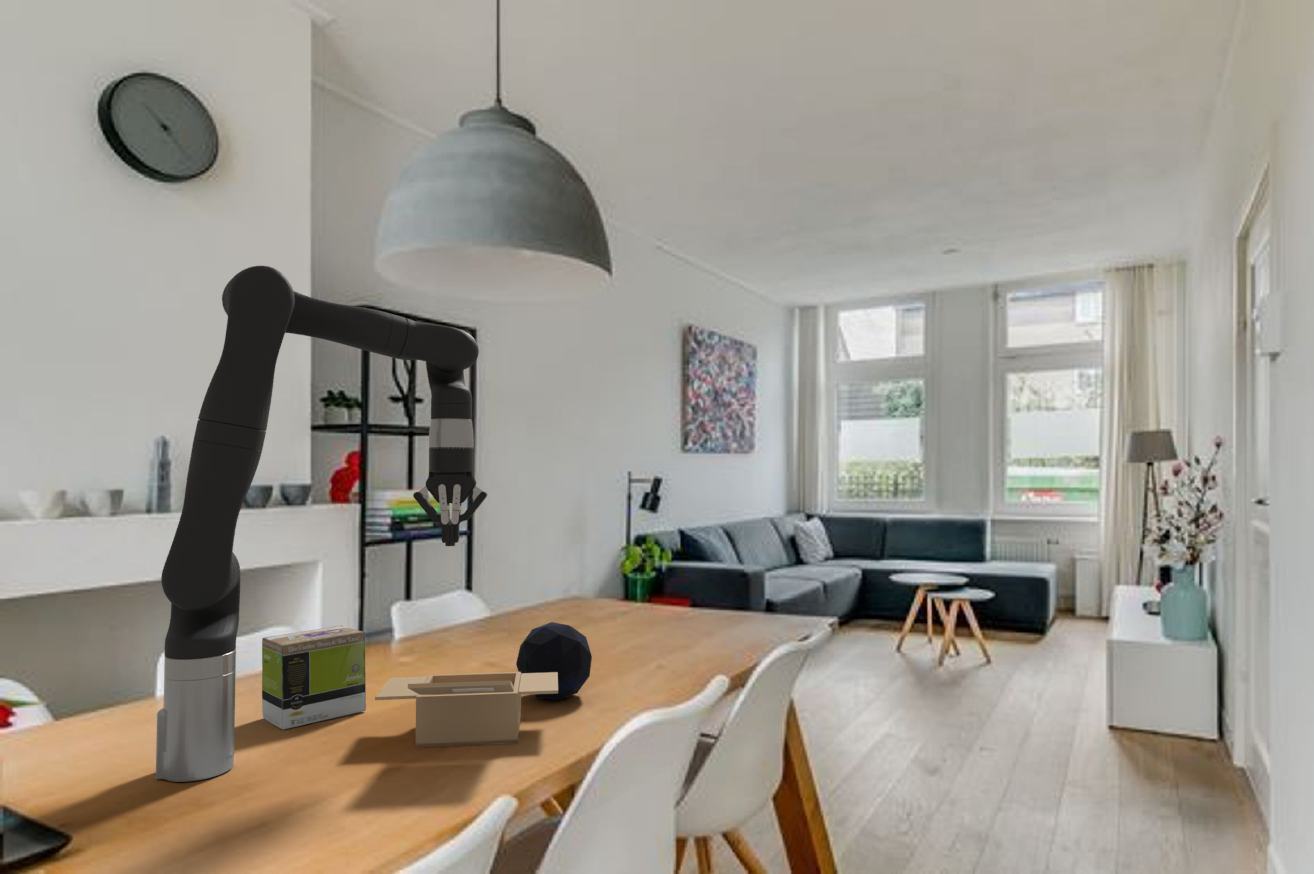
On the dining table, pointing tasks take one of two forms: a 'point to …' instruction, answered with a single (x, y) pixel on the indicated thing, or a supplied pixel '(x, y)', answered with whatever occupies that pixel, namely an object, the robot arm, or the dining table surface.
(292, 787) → the dining table surface
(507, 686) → the cardboard box flap
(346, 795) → the dining table surface
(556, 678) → the carton
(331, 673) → the tea box
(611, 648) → the dining table surface
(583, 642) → the decorative orb
